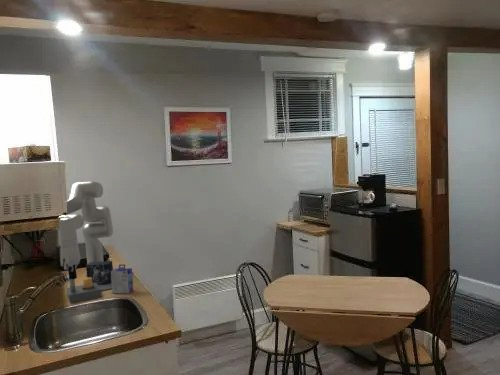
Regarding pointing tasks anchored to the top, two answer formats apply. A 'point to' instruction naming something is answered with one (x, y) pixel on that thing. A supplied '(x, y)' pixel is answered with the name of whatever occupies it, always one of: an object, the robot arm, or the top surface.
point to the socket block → (82, 292)
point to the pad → (105, 287)
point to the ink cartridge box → (122, 280)
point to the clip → (67, 278)
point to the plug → (87, 283)
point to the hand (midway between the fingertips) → (73, 278)
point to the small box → (100, 272)
